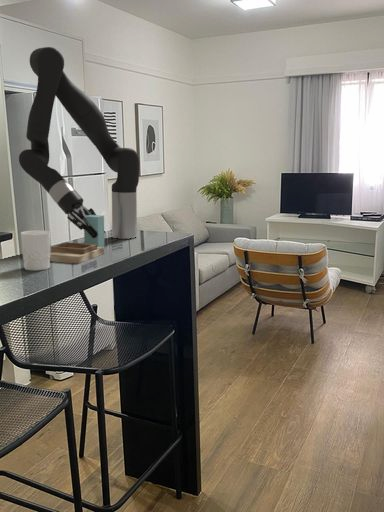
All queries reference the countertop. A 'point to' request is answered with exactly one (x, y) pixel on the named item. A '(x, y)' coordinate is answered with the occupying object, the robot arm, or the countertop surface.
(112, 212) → the robot arm
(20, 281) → the countertop surface
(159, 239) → the countertop surface
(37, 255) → the white cup
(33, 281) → the countertop surface
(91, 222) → the pale teal block
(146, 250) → the countertop surface
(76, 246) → the tan flat rimmed tray
